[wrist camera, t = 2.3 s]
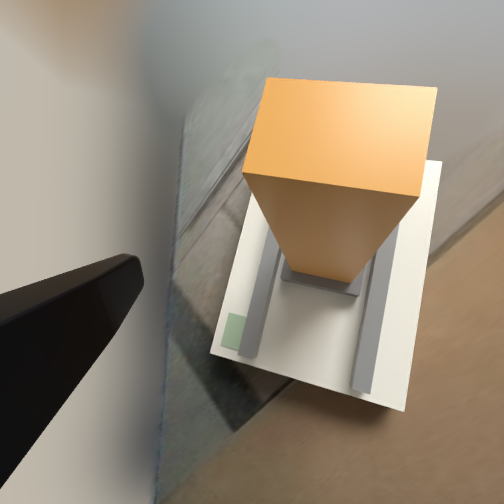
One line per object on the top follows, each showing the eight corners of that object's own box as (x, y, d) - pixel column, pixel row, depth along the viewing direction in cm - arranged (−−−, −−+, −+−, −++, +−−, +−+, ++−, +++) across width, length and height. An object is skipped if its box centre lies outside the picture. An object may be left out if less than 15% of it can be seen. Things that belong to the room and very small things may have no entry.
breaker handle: (357, 297, 16) (450, 232, 5) (282, 280, 17) (208, 193, 6) (367, 242, 17) (473, 63, 5) (294, 229, 18) (249, 54, 6)
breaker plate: (394, 401, 17) (411, 419, 14) (220, 350, 19) (202, 355, 16) (429, 178, 19) (451, 150, 16) (269, 158, 21) (261, 130, 18)
